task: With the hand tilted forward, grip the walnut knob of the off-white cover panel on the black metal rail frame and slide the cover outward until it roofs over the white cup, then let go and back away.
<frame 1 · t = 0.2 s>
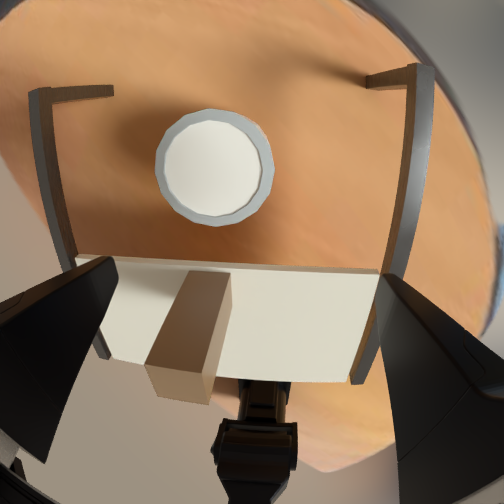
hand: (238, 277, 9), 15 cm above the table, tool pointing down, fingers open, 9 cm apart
white cup: (232, 149, 22), on the table
sliding cover: (205, 369, 16), point 12 cm above the table, slide at 10.0 cm
cover frame: (232, 149, 22), on the table
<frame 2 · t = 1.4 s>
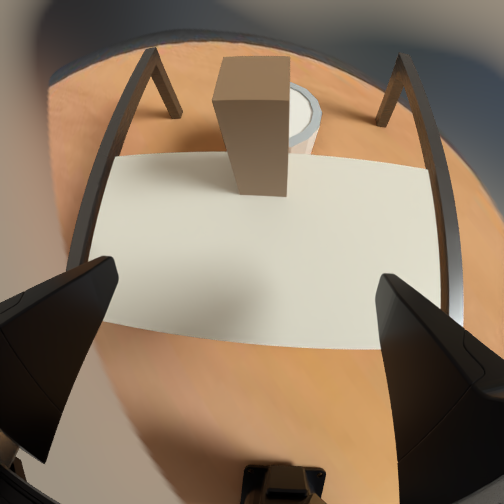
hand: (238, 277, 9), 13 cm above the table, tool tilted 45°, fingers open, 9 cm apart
white cup: (275, 162, 26), on the table
sliding cover: (253, 213, 11), point 12 cm above the table, slide at 10.0 cm
cover frame: (275, 161, 25), on the table
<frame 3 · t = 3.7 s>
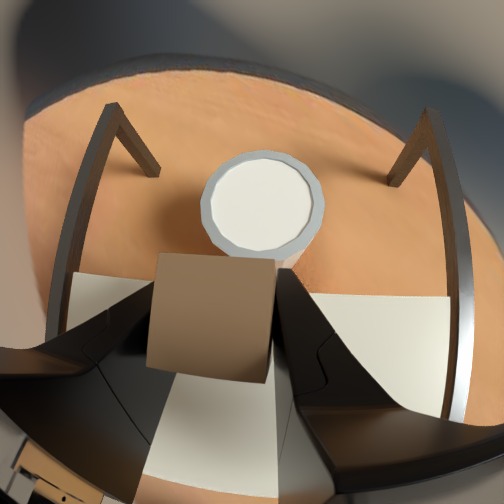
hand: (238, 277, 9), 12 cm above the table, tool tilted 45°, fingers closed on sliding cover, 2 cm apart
white cup: (267, 240, 23), on the table
sliding cover: (227, 425, 8), point 12 cm above the table, slide at 10.0 cm, touching gripper
cover frame: (267, 239, 22), on the table
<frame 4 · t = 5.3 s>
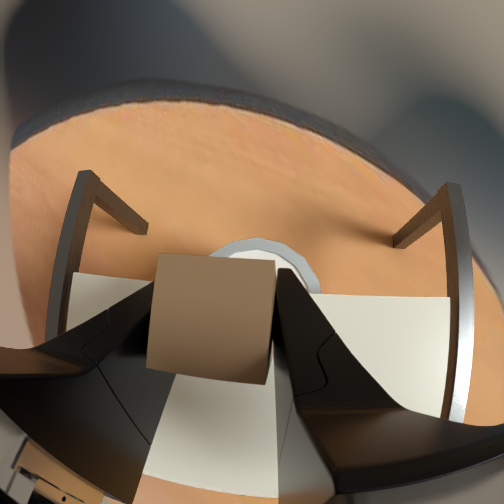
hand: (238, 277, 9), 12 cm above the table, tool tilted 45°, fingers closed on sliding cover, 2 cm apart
white cup: (262, 312, 21), on the table
sliding cover: (227, 425, 8), point 12 cm above the table, slide at 4.5 cm, touching gripper
cover frame: (261, 312, 21), on the table
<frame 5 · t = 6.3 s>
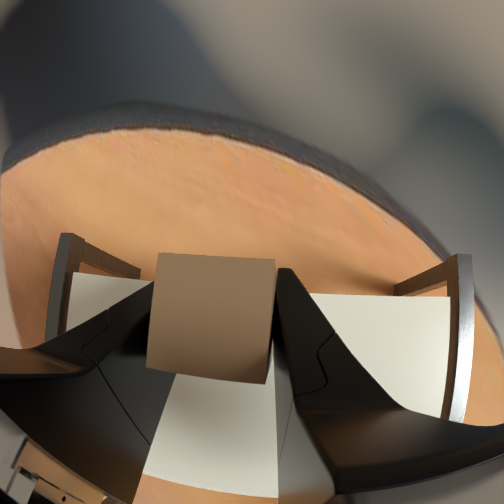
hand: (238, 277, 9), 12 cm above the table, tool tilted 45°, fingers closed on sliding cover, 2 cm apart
sliding cover: (227, 425, 8), point 12 cm above the table, slide at 0.6 cm, touching gripper
cover frame: (257, 366, 20), on the table
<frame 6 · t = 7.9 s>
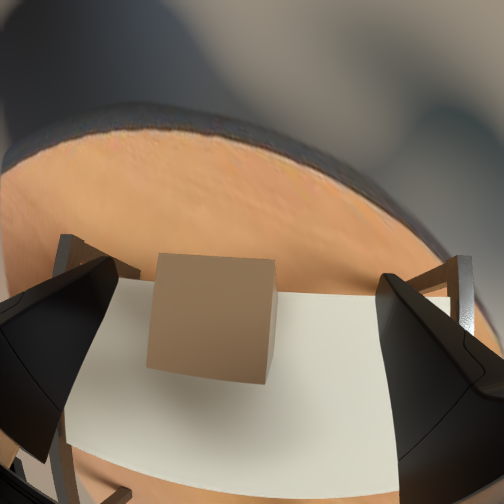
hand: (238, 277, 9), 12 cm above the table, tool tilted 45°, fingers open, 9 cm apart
sliding cover: (227, 425, 8), point 12 cm above the table, slide at 0.5 cm
cover frame: (257, 367, 20), on the table
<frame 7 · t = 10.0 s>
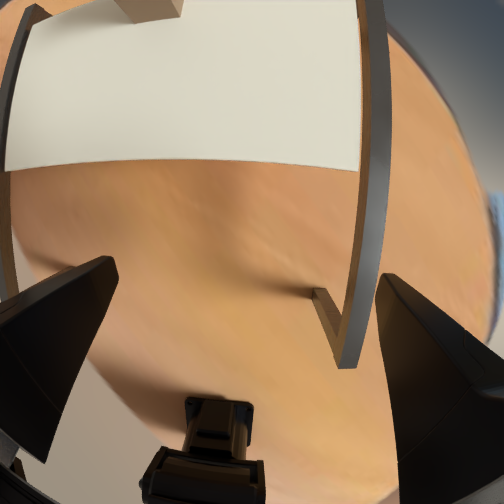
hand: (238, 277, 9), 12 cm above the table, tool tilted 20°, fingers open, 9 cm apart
sliding cover: (121, 29, 8), point 12 cm above the table, slide at 0.5 cm
cover frame: (192, 96, 19), on the table
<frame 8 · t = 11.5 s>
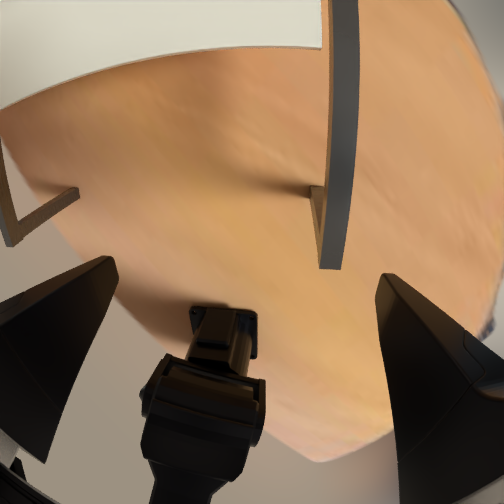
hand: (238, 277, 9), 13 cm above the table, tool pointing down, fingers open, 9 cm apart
cover frame: (169, 8, 15), on the table
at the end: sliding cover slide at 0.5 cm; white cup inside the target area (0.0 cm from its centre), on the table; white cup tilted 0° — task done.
